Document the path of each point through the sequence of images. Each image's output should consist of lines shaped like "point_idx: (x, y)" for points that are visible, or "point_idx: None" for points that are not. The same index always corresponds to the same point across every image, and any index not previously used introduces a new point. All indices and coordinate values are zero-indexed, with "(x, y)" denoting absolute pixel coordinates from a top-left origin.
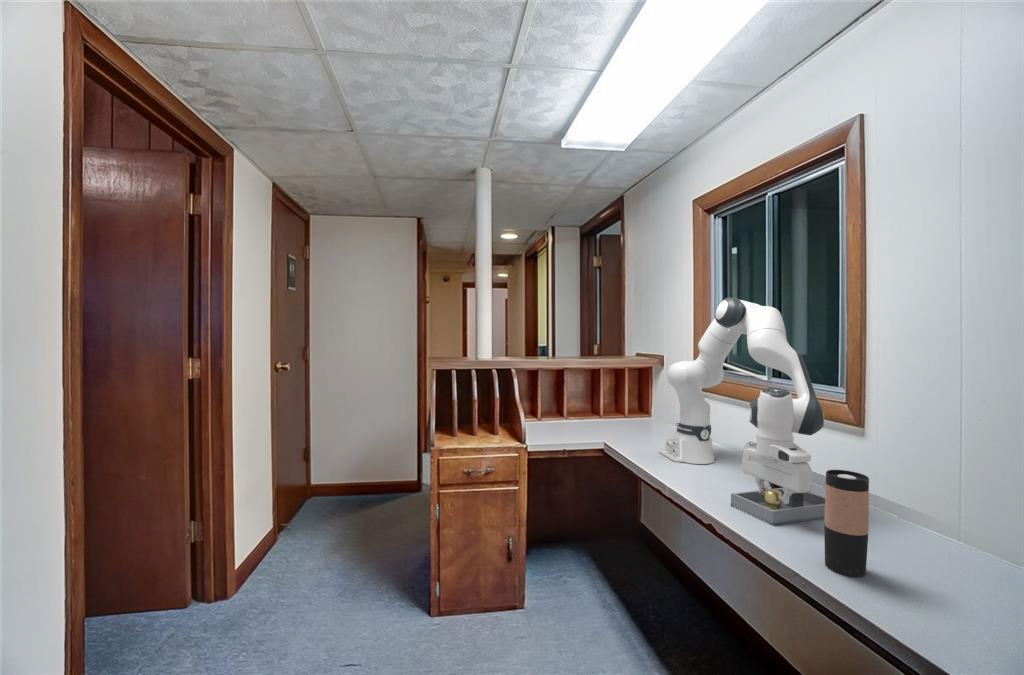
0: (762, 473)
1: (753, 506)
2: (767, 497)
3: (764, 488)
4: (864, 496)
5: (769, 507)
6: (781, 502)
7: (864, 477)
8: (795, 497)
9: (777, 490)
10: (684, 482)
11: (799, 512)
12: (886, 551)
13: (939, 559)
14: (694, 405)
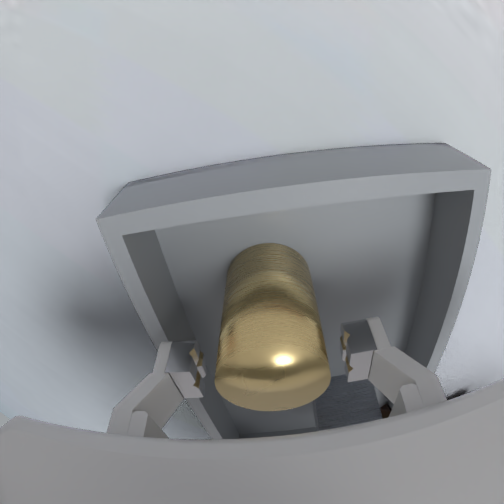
0: (365, 481)
1: (276, 178)
2: (263, 314)
3: (363, 369)
4: None
5: (246, 274)
6: (182, 341)
7: None
8: (317, 421)
9: (286, 407)
10: None
11: None
12: (13, 363)
13: (19, 400)
14: None
